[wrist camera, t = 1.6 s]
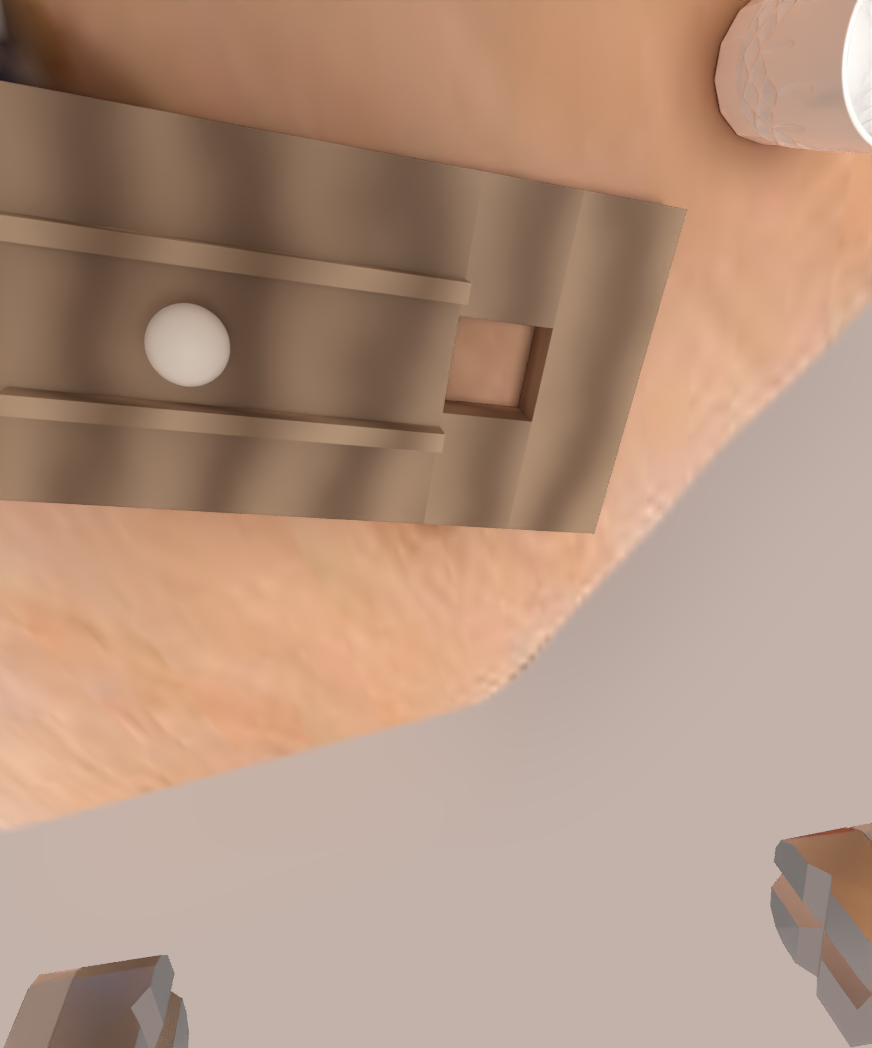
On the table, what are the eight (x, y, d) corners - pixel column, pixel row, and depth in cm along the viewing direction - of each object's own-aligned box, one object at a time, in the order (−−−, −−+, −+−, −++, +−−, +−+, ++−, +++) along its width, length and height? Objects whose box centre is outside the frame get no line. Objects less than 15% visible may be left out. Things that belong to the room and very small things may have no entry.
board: (10, 479, 37) (-15, 510, 34) (-29, 76, 30) (-66, 67, 26) (578, 515, 45) (602, 543, 42) (663, 205, 38) (699, 211, 34)
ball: (150, 291, 32) (137, 305, 29) (233, 301, 33) (229, 317, 30) (151, 370, 34) (138, 392, 31) (230, 378, 35) (226, 400, 32)
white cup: (823, 158, 38) (986, 160, 29) (688, 153, 37) (818, 153, 28) (869, -25, 35) (1070, -85, 26) (721, -40, 33) (881, -109, 24)
